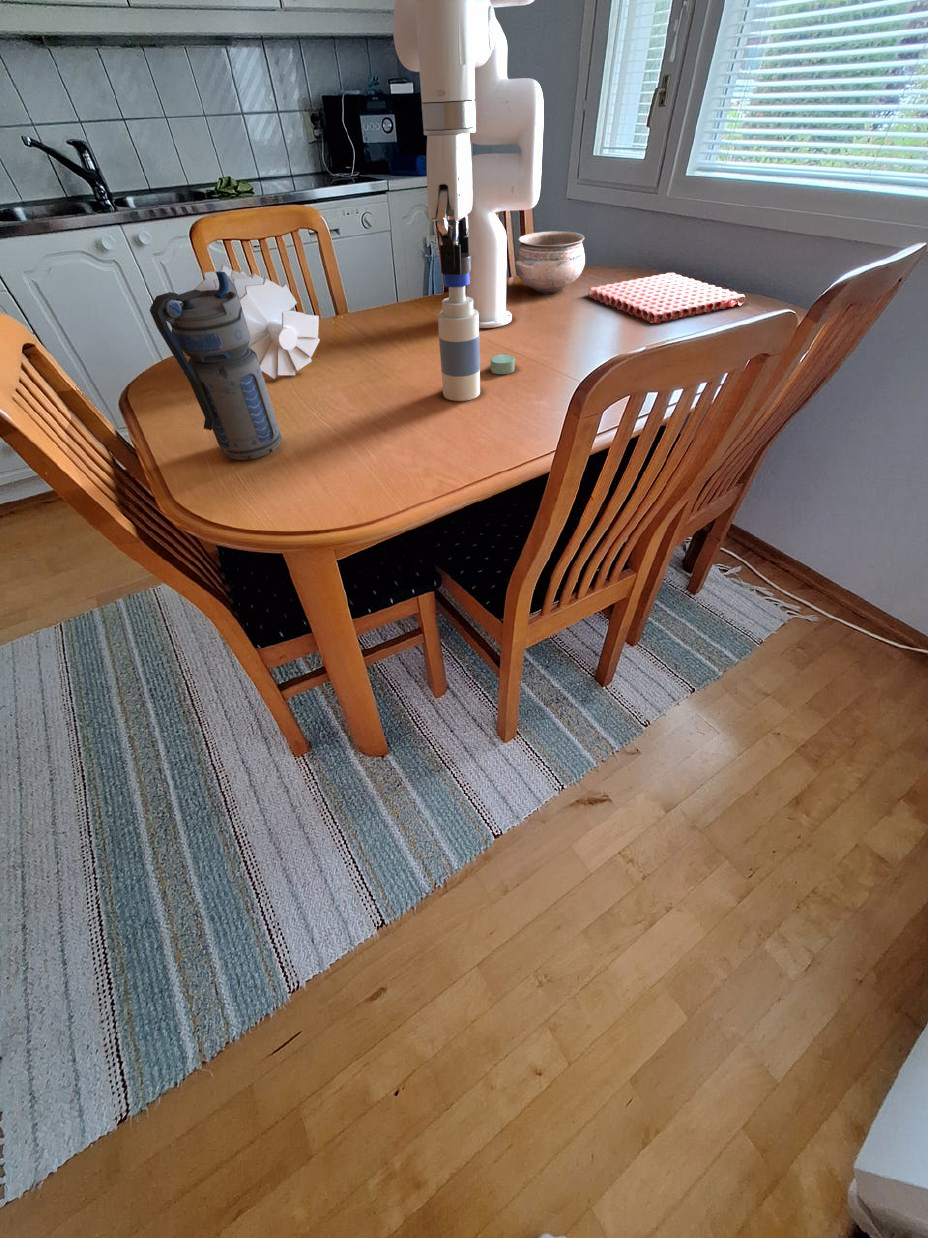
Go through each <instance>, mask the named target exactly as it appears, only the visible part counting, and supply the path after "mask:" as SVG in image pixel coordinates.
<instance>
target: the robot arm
mask: <svg viewBox="0 0 928 1238" xmlns="http://www.w3.org/2000/svg"><path fill="white" fill-rule="evenodd" d="M534 1H535V0H395V1H394V8H393V16H392V17H393V18H392V19H393V20H392V35H393V43H394V47H395V52H396V55H397V57H398V59H399V61H400V63H401V64H402V66H403V67H404V68H405V69H407V70H408V71H410V72H416V73H418V72H419V83H420V84H419V85H420V99H421V112H422V126H423V127H422V129H423V135H424V136H426V137H427V138H426V186H427V187H426V188H427V189H426V190H427V211H428V212H427V213H428V218H429V220H430V221H431V222H433V223H434V222H436V226H437V228H438V236H439V238H438V240H439V241H438V244H439V253H440V255H439V256H441V263H440V272H441V271H442V273H441V275H443V274H444V275H459V274H460V273H461V253H468V254H470V256H471V271H470V272H469V279H470V283H469V285H467V286H466V297H470V298H472V299H473V309H475V310H477V311H478V314H479V329H492V328H493V329H494V328H499V327H503V326H505V325H508V324H509V323H511V322H512V320H513V315H512V313H511V312H510V311H509V310H507V248H508V247H507V246H508V245H507V240H508V237H507V231H506V229H505V227H504V225H503V223H502V221H500V218H499V217H498V216H497V215H496V213H497V212H505V211H506V212H509V211H511V212H512V211H528V210H532V209H533V208H535V207H536V206H537V204H538V201H539V199H540V194H541V186H542V183H541V182H542V165H543V163H542V161H543V140H544V139H543V138H544V118H545V117H544V116H545V115H544V113H545V112H544V110H545V109H544V108H545V107H544V106H545V105H544V95H543V90H542V88H541V85H540V83H539V82H538V81H537V80H536V79H534V78H530V77H524V78H523V77H521V78H519V77H518V78H508V41H507V38H506V35H505V33H504V31H503V29H502V27H501V24H500V23H499V21H498V20H497V18H496V14H495V13H496V12H495V9H494V8H505V7H517V6H518V7H519V6H526V5H530V4H532V3H533V2H534ZM471 143H472V144H475V145H479V146H499V145H500V146H501V145H517V146H519V149H520V152H509V153H507V152H506V153H502V152H499V153H497V152H496V153H495V152H494V153H479V154H474V155H472V146H471ZM448 218H449V219H448Z"/></svg>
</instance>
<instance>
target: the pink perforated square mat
mask: <svg viewBox="0 0 928 1238" xmlns="http://www.w3.org/2000/svg"><path fill="white" fill-rule="evenodd" d="M590 290H591V291H592V294H591V295H590V293H589V292H590ZM587 294H588V297H589V298H591V299H592V298H593V299H594V300H595V301H599V302H600V303H605V305H607V306H608V305H610V306H611V307H612V308H617V310H622V311H623V313H629V315H633V316H634V315H635V316H636V318H642V320H643V321H649V323H650V324H661V323H662V322H669V321H671V320H678V319H679V318H683V319H685V318H686V317H688V316H690V317H693V316H695V315H697V314H698V315H702V314H703V313H710V312H711V311H715V312H717V311H719V310H720V309H722V310H726V309H727V308H734V307H735V306H742V305H743V304H744V303H745V300H746V296H745V294H744V293H740V294H739V293H737V292H736V291H730V290H729V289H723V288H722V287H721V286H719V287H716V285H714V284H709V283H707V282H702V281H701V280H695V279H694V278H689V277H688V276H682V274H676V273H675V272H666V273H665V274H662V273H659V274H658V275H651V276H645V277H643V278H640V277H638V278H636V279H629V280H628V281H626V280H622V281H621V282H614V283H613V284H612V283H611V284H610V283H607V284H606V285H599V286H597V287H595V286H591V287H590V288H589V290H588V292H587ZM741 298H743V301H742V302H739V301H740V299H741ZM734 299H735V300H734Z"/></svg>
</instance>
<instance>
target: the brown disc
mask: <svg viewBox="0 0 928 1238" xmlns="http://www.w3.org/2000/svg"><path fill="white" fill-rule="evenodd" d="M439 259H440V260H439V261H440V264H441V255H439ZM470 271H471V256H470V254H468V253H461V273H460V274H459V275H462V274H466V273H469V272H470ZM440 273H441V274H442V271H441V270H440Z"/></svg>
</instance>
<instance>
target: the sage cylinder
mask: <svg viewBox="0 0 928 1238" xmlns="http://www.w3.org/2000/svg"><path fill="white" fill-rule="evenodd" d="M515 360H516V358H515V356H513V355H511V354H505V353H504V354H503V353H501V354H496V355H493V356H491V357H490V360H489V361H490V364H489V365H490V372H491V373H493V374H495V375H509V374H512V373H514V371H515V369H516V368H515V362H516V361H515Z"/></svg>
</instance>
